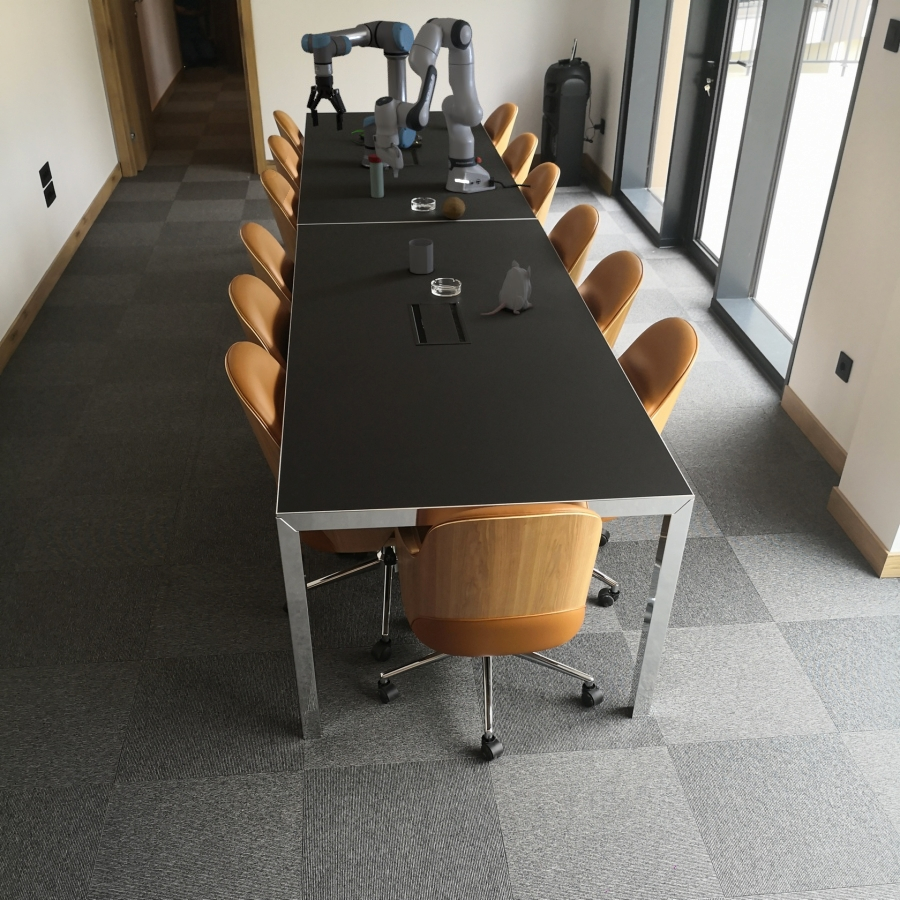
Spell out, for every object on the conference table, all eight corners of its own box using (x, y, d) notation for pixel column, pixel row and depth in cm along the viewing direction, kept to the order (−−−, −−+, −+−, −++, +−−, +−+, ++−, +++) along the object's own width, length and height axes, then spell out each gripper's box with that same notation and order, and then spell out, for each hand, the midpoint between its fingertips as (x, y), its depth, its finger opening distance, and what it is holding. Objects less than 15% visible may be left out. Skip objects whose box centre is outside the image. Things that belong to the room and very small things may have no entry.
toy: (538, 306, 281) (541, 262, 273) (491, 329, 266) (492, 282, 258) (517, 299, 286) (519, 255, 278) (469, 320, 271) (470, 275, 263)
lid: (383, 159, 379) (383, 153, 377) (382, 163, 373) (382, 157, 372) (369, 159, 379) (369, 153, 377) (368, 163, 373) (367, 157, 372)
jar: (384, 194, 387) (382, 155, 377) (383, 197, 382) (381, 158, 373) (371, 194, 387) (370, 155, 377) (370, 197, 382) (368, 158, 373)
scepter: (406, 126, 467) (350, 124, 465) (406, 141, 460) (349, 139, 458) (405, 136, 472) (350, 133, 470) (405, 151, 465) (349, 149, 463)
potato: (463, 212, 364) (464, 193, 359) (466, 223, 352) (466, 203, 348) (440, 212, 363) (440, 193, 359) (442, 223, 351) (442, 204, 347)
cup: (409, 265, 311) (408, 238, 306) (432, 265, 312) (431, 238, 307) (410, 274, 304) (409, 246, 299) (433, 273, 305) (433, 246, 299)
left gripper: (295, 73, 364) (300, 125, 376) (340, 79, 352) (344, 133, 364) (307, 70, 369) (311, 122, 381) (352, 76, 358) (355, 130, 369)
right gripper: (405, 145, 344) (408, 179, 353) (385, 131, 359) (388, 164, 367) (391, 148, 342) (394, 182, 351) (371, 134, 357) (374, 168, 365)
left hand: (327, 128), depth 372 cm, fingers open, 13 cm apart
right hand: (390, 173), depth 359 cm, fingers open, 8 cm apart
